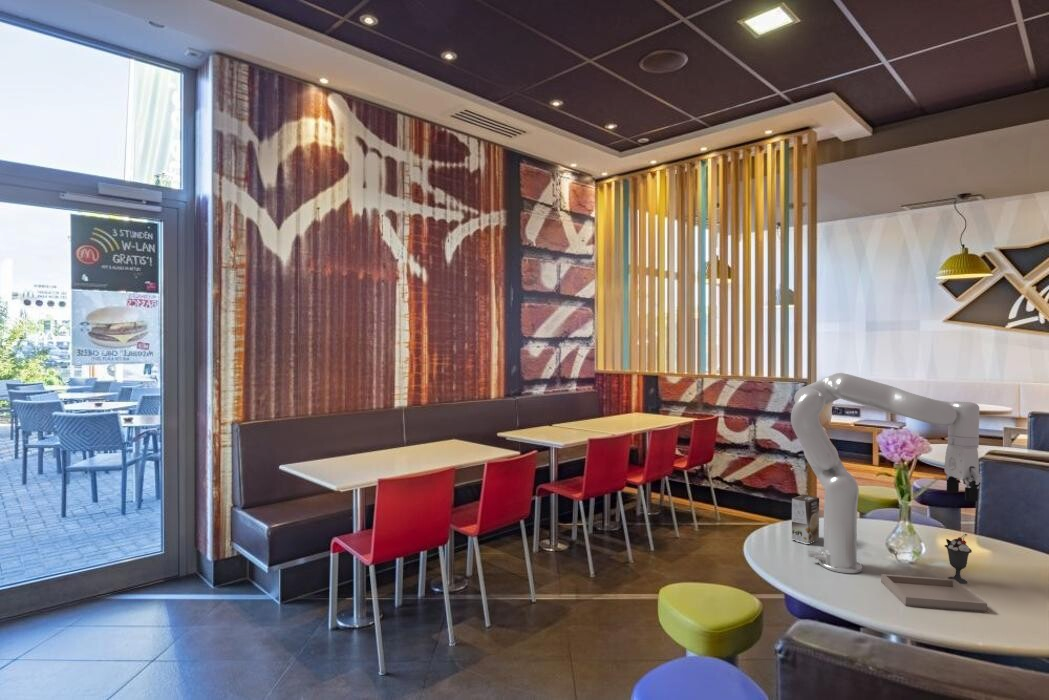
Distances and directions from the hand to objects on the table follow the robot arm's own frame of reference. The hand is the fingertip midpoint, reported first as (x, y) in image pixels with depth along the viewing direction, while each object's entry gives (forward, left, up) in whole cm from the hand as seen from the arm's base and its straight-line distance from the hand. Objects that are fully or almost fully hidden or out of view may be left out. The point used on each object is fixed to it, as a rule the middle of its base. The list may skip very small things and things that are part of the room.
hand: (961, 496), depth 173 cm
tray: (-15, -15, -26) cm, 33 cm away
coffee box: (-37, +28, -26) cm, 54 cm away
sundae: (-1, -1, -26) cm, 26 cm away
